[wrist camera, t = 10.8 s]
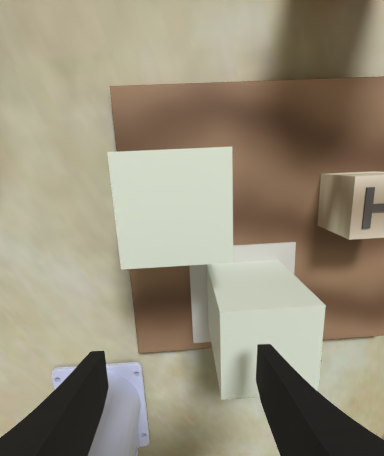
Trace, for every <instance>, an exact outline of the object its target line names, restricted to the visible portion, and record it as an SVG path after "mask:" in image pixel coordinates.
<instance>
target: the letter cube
mask: <svg viewBox="0 0 384 456" xmlns="http://www.w3.org/2000/svg"><path fill="white" fill-rule="evenodd" d="M317 226H320V227H322V228H324V229H326V230H329V231H331V232H333V233H335V234H337V235H340V236H342V237H344V238H346V239H349V240H352V239H369V238H384V172H377V171H369V172H349V173H328V174H321V181H320V195H319V209H318V223H317Z"/></svg>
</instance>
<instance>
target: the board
mask: <svg viewBox="0 0 384 456" xmlns="http://www.w3.org/2000/svg"><path fill="white" fill-rule="evenodd" d="M110 93H111V102H112V111H113V120H114V129H115V139H116V148H117V152H121V151H144V150H166V149H189V148H211V147H232V169H233V245H249V244H267V243H284V242H296V250H295V269H294V275H295V276H296V277H297V278H298V279H299V280H300V281H301V282H302V283H303V284H304V285H305V286H306V287H307V288H308V289H309V290H310V291H311V292H312V293H314V294H315V295H316V296H317V297H318V298H319V299H320V300H321V301H322V302H323V303H324V304H325V305H326V307H325V318H324V330H323V340H328V339H342V338H356V337H370V336H383V335H384V238H369V239H352V240H349V239H346V238H344V237H342V236H340V235H337V234H335V233H333V232H331V231H329V230H326V229H324V228H322V227H320V226H317V223H318V209H319V195H320V181H321V174H328V173H349V172H369V171H377V172H384V77H355V78H327V79H299V80H271V81H243V82H214V83H186V84H158V85H130V86H110ZM130 277H131V286H132V295H133V304H134V313H135V323H136V332H137V341H138V350H139V353H147V352H161V351H175V350H188V349H202V348H212V345H211V342H203V343H193V327H192V307H191V287H190V267H189V265H188V266H171V267H155V268H138V269H130Z"/></svg>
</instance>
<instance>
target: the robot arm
mask: <svg viewBox="0 0 384 456" xmlns="http://www.w3.org/2000/svg"><path fill="white" fill-rule="evenodd" d="M135 372H139V373H135ZM51 377H52V382H53V387H54V391H53V392H52V393H51V394H50V395H49V396H48V397H47V398H46V399H45V400H44V401H43V402H42V403H41V404H40V405H39V406H38V407H37V408H36V409H35V410H33V411H32V412H31V413H30V414H29V415H28V416H27V417H25V418H24V419H23V420H22V421H21V422H19V423H18V424H17V425H16V426H15V427H13V428H12V429H11V430H10V431H8V432H7V433H6V434H5V435H3V436H2V437H1V438H0V456H138V449H139V447H145V446H147V445H149V442H150V436H149V426H148V417H147V408H146V398H145V389H144V380H143V370H142V365H141V363H139V362H128V363H114V364H106V361H105V353H104V351H92V352H90V353H89V354H88V355H87V356H86V357H85V358H84V359H83V361H82V362H81V363H80V364H79V365H78V366H73V367H59V368H55V369H54V370H53V371H52V373H51ZM58 378H60V379H58ZM256 383H257V387H258V392H259V396H260V399H261V403H262V406H263V409H264V412H265V414H266V417H267V420H268V423H269V425H270V428H271V431H272V434H273V436H274V439H275V442H276V444H277V447H278V450H279V453H280V455H281V456H384V440H383V439H381V438H380V437H378V436H377V435H375V434H373V433H372V432H370V431H369V430H367V429H366V428H365V427H363V426H362V425H360V424H359V423H357V422H356V421H354V420H353V419H352V418H350V417H349V416H347V415H346V414H345V413H343V412H342V411H341V410H340V409H338V408H337V407H336V406H334V405H333V404H332V403H331V402H329V401H328V400H327V399H326V398H325V397H323V396H322V395H321V394H320V393H319V392H318V391H317V390H315V389H314V388H313V387H312V386H311V385H310V384H309V383H308V382H307V381H306V380H305V379H304V378H303V377H302V376H301V375H300V374H299V373H298V372H297V371H296V370H295V369H294V368H293V367H292V366H291V365H290V364H289V363H288V362H287V361H286V360H285V359H284V358H283V357H282V356H281V355H280V354H279V353H278V351H277V350H276V349H275V348H274V347H273V346H272V345H271V344H257V364H256Z"/></svg>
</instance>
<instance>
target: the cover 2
mask: <svg viewBox="0 0 384 456" xmlns="http://www.w3.org/2000/svg"><path fill="white" fill-rule="evenodd" d="M207 294H208V327H209V334H210V339H211V345H212V350H213V356H214V361H215V367H216V372H217V378H218V384H219V389H220V395H221V400H228V399H241V398H254V397H260V396H259V392H258V387H257V383H256V364H257V344H271V345H272V346H273V347H274V348H275V349H276V350H277V351H278V353H279V354H280V355H281V356H282V357H283V358H284V359H285V360H286V361H287V362H288V363H289V364H290V365H291V366H292V367H293V368H294V369H295V370H296V371H297V372H298V373H299V374H300V375H301V376H302V377H303V378H304V379H305V380H306V381H307V382H308V383H309V384H310V385H311V386H312V387H313V388H314V389H315V390H317V391H318V386H319V375H320V364H321V352H322V341H323V330H324V318H325V307H326V305H325V304H324V303H323V302H322V301H321V300H320V299H319V298H318V297H317V296H316V295H315V294H314V293H312V292H311V291H310V290H309V289H308V288H307V287H306V286H305V285H304V284H303V283H302V282H301V281H300V280H299V279H298V278H297V277H296V276H295V275H294V274H293V273H292V272H291V271H290V270H289V269H288V268H287V267H286V266H285V265H284V264H282V263H281V262H280V261H279V260H266V261H248V262H233V263H221V264H207Z"/></svg>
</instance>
